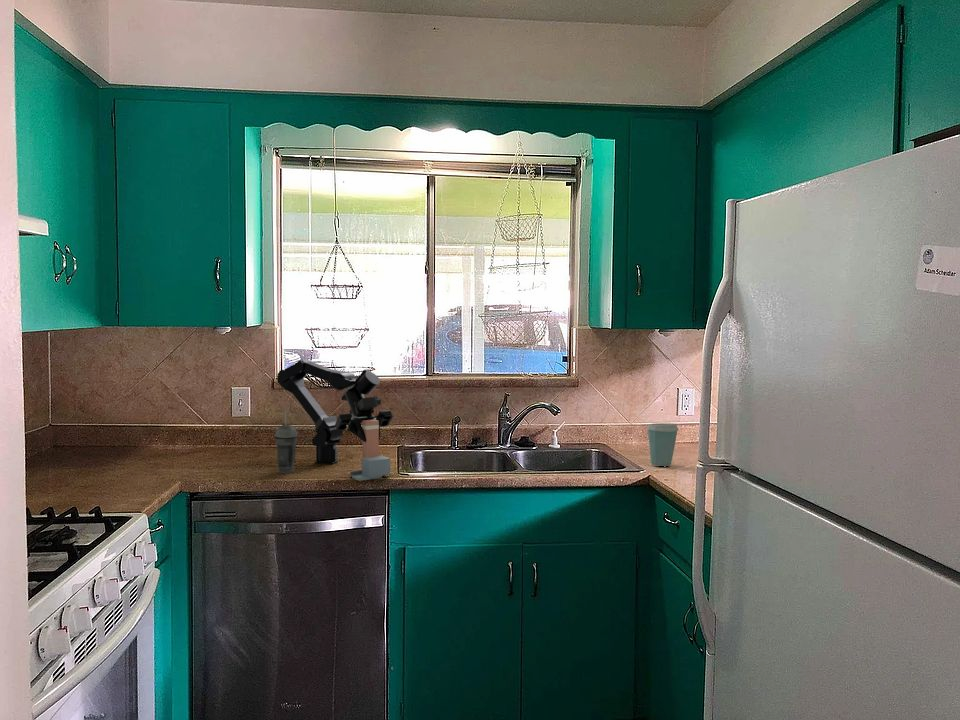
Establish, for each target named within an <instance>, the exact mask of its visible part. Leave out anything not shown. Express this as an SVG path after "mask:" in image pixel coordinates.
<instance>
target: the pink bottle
mask: <svg viewBox="0 0 960 720" xmlns="http://www.w3.org/2000/svg"><path fill="white" fill-rule="evenodd" d="M361 426H362V429H363V431H364V434H365V436H366V439H367V441H366V442H364V441H363V440H361V443H362V444H361V445H362V446H361V447H362V449H361V452H362V453H361V455H362V458H369V457H377V456H380V455H379V454H380V452H379V451H380V450H379V449H380V448H379V445H380V443H379V442H380V440H379V421H378V420H363V421H362V423H361ZM362 458H361V459H362Z"/></svg>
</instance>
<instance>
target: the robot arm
mask: <svg viewBox="0 0 960 720" xmlns="http://www.w3.org/2000/svg"><path fill="white" fill-rule="evenodd" d="M307 375H309V376H312V377H315V378H318V379H320V380H322V381H325V382H327V383H328V384H329V385H330V387H332V388H333V389H335V390H337V391H344V390H346V391H345V392H343V395H342V396H341V401H344V402H347V403H348V406H349V408H350V410H349V413H340V414H338V417H337V416H335V415H332V416H328V415H327V414H326V412H325V411H324V410H323V408H322V407H321V406H320V405H319V404H320V403H318V402H317V400H316V399H315V398H314V397H313V395H312V394H311V392H310V391H309V390H308V389H307V387H306V386H305V378H306V377H307ZM276 381H277V384H279V386H280V387H281V388H283V389H284V390H285V391H287V392H289V393H290V394H292V395H293V396H294V397H295V399H296V400H297V401H298V403H299V404H300V405H301V407H302V408H303V410H304V411H305V412H306V414H307V415H308V416H309V417H310V419H311V421H312V422H313V423H314V430H315V433H316V434H315V435H314V436H313V438H311V443H312V446H313V447H316V449H315V450H316V451H315V455H316V456H315V461H314V464H323V465H324V464H327V465H332V464H334V463H336V462H338V461H339V449H338V448H337V444H340V443H341V439H342V436H343V434H344V433H343V432H344V431H347V432H350V433H352V434H353V435H355V436H357V437H358V438H359V439H360V440H361V441H362V440H363V441H364V442H366V441H367V439H366V436H365V434H364V431H363V429H362V421H363V420H378V421H379V441H380V440H381V428H383V427H388V426H389V424H390V422H391V421H392V419H393V418H394V415H393V412H392V410H379V412H378V413H377V415H372V414H374V412H375V410H374V409H375V408H377V407H380V405H382V400H381V398H380V396H379V395H374V396H369V397H365V395H367V396H368V395H370V394H371V393H372V392H373V391H374V390H375V389H376V388H377V386H379V384H380V383H381V381H380V378H379V376H378V375H376V373H374V372H372V371H370V369H367V368H366V369H363V370H362V371H361V373H360V374H359V375H358V376H355V373H354V372H351V371H342V370H334V369H331V368H329V367H326V366H324V365H321V364H318V363H315V362H313V361H311V360H309V359H300V360H299V361H297V362H295V363H294V364H292V365H290V366H288V367H285V368H284V369H281V370H279V371H278V373H277V377H276Z"/></svg>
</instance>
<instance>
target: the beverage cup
mask: <svg viewBox="0 0 960 720" xmlns="http://www.w3.org/2000/svg"><path fill="white" fill-rule="evenodd" d="M274 438H275V444H276V453H277V462H278V463H277V464H278V472H280V474H293V473H294V470H295V463H296V462H295V461H296V460H295V459H296V450H297V442H298V438H299V437H298V432H297V429H296V428H295V427H294V426H293V425H291V424H288V423H287V410H284V424H281V425H280V426H279V427H278V428H277V429H276V431H275V435H274ZM292 472H293V473H292Z"/></svg>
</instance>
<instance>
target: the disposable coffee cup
mask: <svg viewBox="0 0 960 720" xmlns="http://www.w3.org/2000/svg"><path fill="white" fill-rule="evenodd" d="M646 429H647V435H648V436H647V438H648V447H649V448H648V449H649V456H650V457H649V458H650V464H651V465H652V466H653V465H654V466H653V467H656V466H670V467H671V465H672V463H673V456H674V452H675V445H676V440H677V436H678V435H677V434H678V432H679V427H678V424H677V423H669V422H667V423H665V422H663V423H658V422H657V423H655V422H654V423H650V424H648V425H647V427H646Z"/></svg>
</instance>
